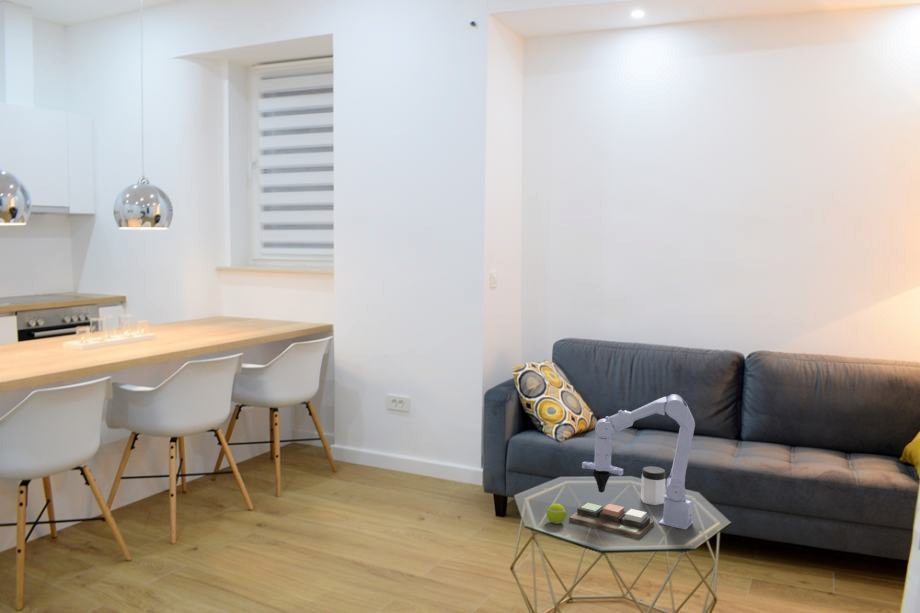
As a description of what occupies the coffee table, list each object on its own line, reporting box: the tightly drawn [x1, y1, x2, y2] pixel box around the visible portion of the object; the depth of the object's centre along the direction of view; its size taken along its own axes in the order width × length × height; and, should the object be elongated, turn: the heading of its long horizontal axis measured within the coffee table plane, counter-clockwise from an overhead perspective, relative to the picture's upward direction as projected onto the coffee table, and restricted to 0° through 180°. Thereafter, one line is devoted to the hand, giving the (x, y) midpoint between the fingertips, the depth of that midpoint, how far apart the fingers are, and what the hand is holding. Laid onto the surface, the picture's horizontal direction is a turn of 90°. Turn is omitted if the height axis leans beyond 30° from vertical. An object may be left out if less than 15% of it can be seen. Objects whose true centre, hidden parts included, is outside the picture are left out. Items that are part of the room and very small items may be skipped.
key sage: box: [581, 502, 603, 512], centre depth 271 cm, size 6×6×2 cm
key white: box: [625, 508, 648, 523], centre depth 262 cm, size 6×6×2 cm
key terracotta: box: [603, 503, 625, 517], centre depth 267 cm, size 6×6×2 cm
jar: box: [640, 465, 667, 506], centre depth 287 cm, size 9×8×12 cm
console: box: [568, 501, 655, 540], centre depth 266 cm, size 25×14×3 cm, turn 57°
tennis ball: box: [546, 503, 567, 525], centre depth 264 cm, size 7×7×7 cm
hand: (601, 491), depth 272 cm, fingers closed
